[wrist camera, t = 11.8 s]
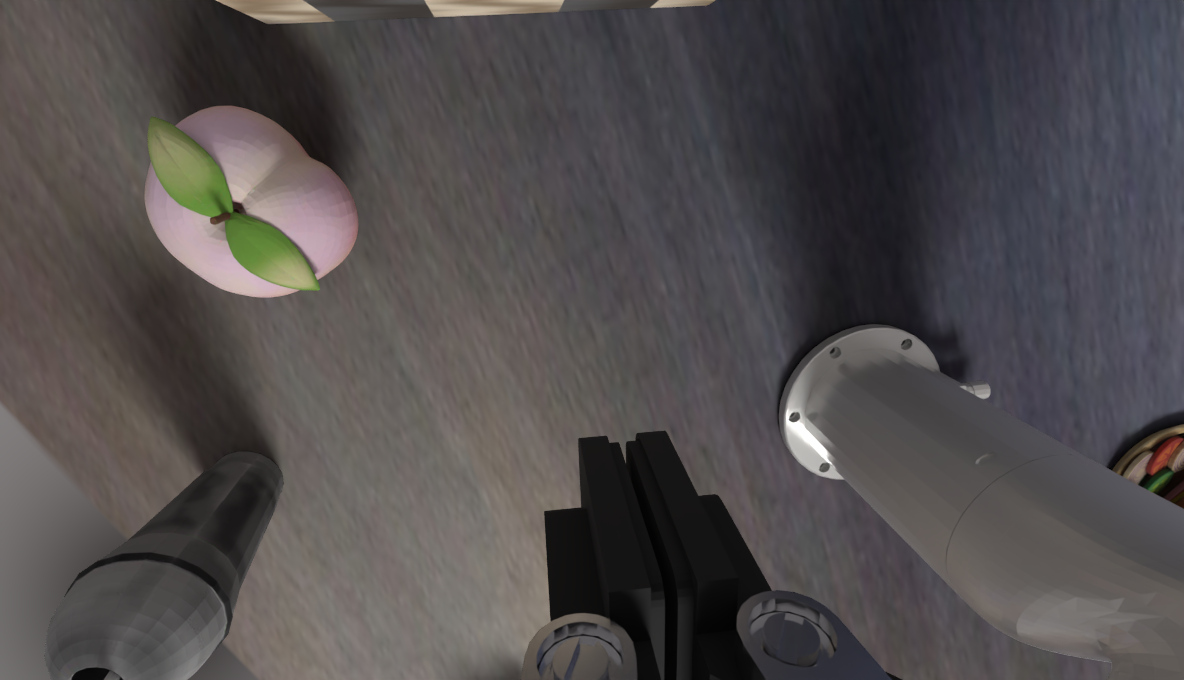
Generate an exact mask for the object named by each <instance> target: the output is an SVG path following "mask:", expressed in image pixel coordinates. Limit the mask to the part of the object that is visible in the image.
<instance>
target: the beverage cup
mask: <svg viewBox="0 0 1184 680" xmlns="http://www.w3.org/2000/svg"><path fill="white" fill-rule="evenodd" d="M283 484H284V483H283V476H282V473H281V471H280V470H279V468H278V466H277V465H276V464H275V463H274V462H273V461H271V460H270V459H269V458H267V457H265V456H263V455H261V454H258V453H254V452H249V451H241V452H234V453H231V454H227V455H225V456H224V457H222V458H221V459H220V460H218V461H217V462H216V464H214V465H213V466H212V467H210V468H209V469H207V470H206V471H204V472H203V473H202V474H201V475H200V476H199V477H198V478H197V479H195V480H194V481H193V482H192V483H191V484H190V485H189V486H188V487H187V488H185V489H184V490H183V491H182V492H181V493H180V494H179V495H178V496H177V497H176V498H174V499H173V500H172V501H171V502H170V503H169V504H168V505H167V506H166V507H164V508H163V509H162V510H161V511H160V512H159V513H158V514H157V515H156V516H155V517H153V518H152V519H151V520H150V521H149V522H148V523H147V524H146V525H145V526H143V527H142V528H141V529H140V530H139V531H138V532H137V533H136V534H135V535H134V536H132V537H131V538H130V539H129V540H128V541H127V542H125V543H124V544H122V545H121V546H119V547H118V548H117V549H115V550H113V551H112V552H111V553H110V554H108V555H106V556H105V557H104V558H102V559H101V560H99V561H97V562H95V563H94V564H92V565H91V566H89V567H88V568H87V569H85V570H84V571H82V572H81V573H79V574H78V576H77V577H76V579H75V580H74V582H73V583H72V585H71V586H70V588H69V589H68V591H67V593H66V595H65V596H64V599H63V601H62V602H61V603H60V605H59V606H58V608H57V609H56V611H55V613H54V615H53V617H52V618H51V621H50V624H49V627H48V632H47V638H46V646H45V655H44V656H45V661H46V666H47V669H48V672H49V675H50V678H51V680H187V679H188V678H189V677H191V676H192V675H193V674H194V673H196V671H197V670H198V669H199V668H200V667H201V666H202V665H203V664H204V662H205V661H206V660H207V659H208V657H209V656H210V655H211V654H212V653H213V652H214V651H215V650H216V649H217V648H218V646H219V645H220V644H221V643H222V641H223V640H224V639H225V637H226V636H227V635H228V633H229V629H230V625H231V621H232V618H233V613H234V609H235V606H236V602H237V598H238V594H239V590H240V587H241V585H242V583H243V581H244V578H245V576H246V574H247V572H248V569H249V567H250V565H251V563H252V560H253V558H254V556H255V553H256V551H257V549H258V547H259V544H260V542H261V540H262V538H263V535H264V533H265V531H266V529H267V526H268V524H269V522H270V520H271V517H272V515H273V513H274V510H275V508H276V505H277V501H278V498H279V495H280V494H281V492H282V488H283Z"/></svg>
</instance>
